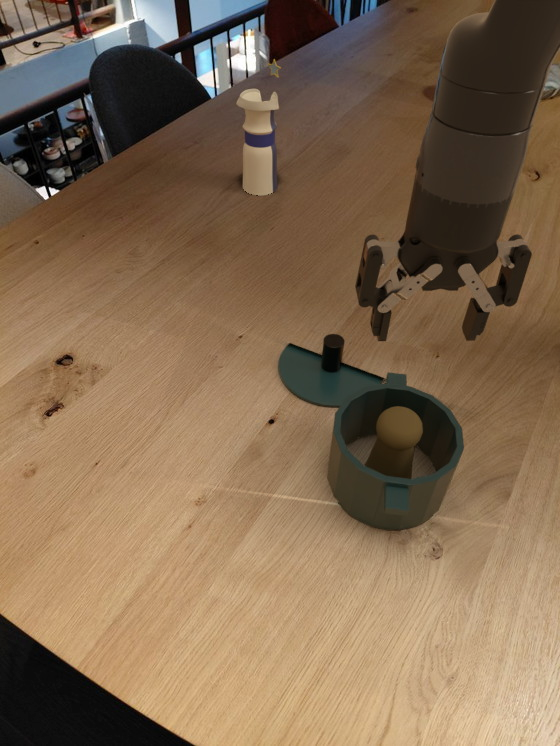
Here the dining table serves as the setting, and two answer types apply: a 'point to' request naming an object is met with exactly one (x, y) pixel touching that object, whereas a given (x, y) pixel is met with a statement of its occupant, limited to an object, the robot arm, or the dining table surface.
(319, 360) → the lid
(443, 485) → the pot
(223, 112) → the dining table surface
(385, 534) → the dining table surface
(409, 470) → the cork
